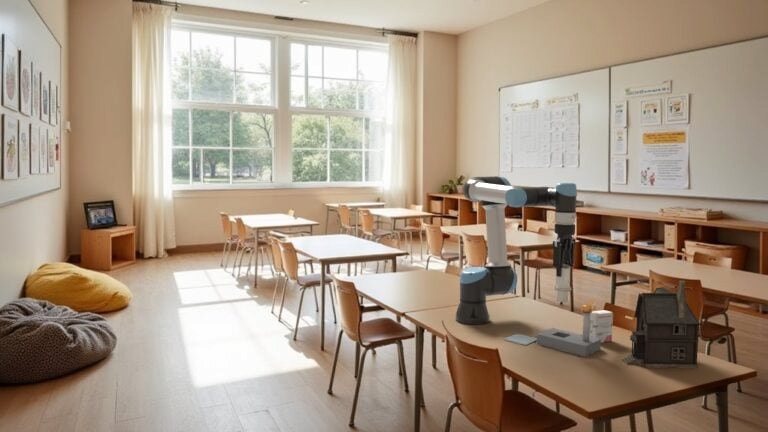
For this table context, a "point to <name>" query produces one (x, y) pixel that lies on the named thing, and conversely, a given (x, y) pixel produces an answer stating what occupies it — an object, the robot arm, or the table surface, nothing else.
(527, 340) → the mat
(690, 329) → the model house
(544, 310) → the table surface
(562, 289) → the plug
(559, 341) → the socket
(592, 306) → the wooden lever
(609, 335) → the ink box
